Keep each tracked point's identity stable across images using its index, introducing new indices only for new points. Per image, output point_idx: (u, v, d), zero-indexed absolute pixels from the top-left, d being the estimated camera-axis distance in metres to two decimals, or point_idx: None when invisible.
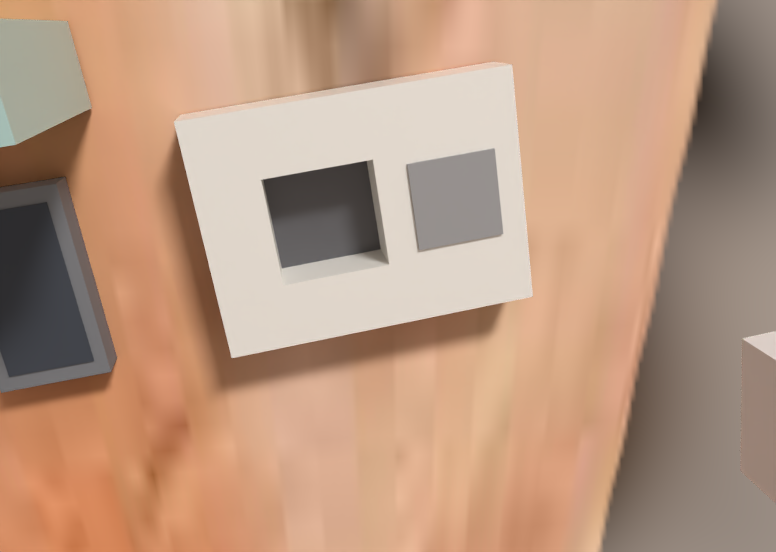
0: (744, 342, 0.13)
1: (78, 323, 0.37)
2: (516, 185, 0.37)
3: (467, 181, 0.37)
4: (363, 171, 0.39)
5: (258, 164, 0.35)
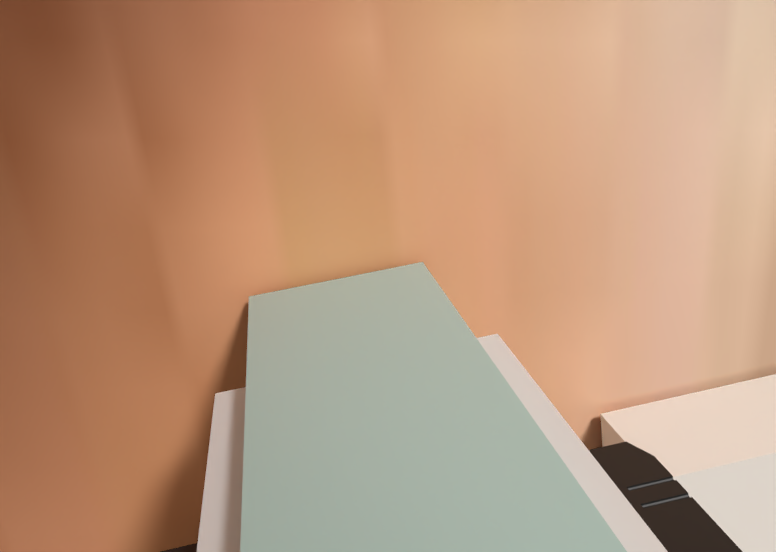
0: None
1: None
2: None
3: None
4: None
5: None
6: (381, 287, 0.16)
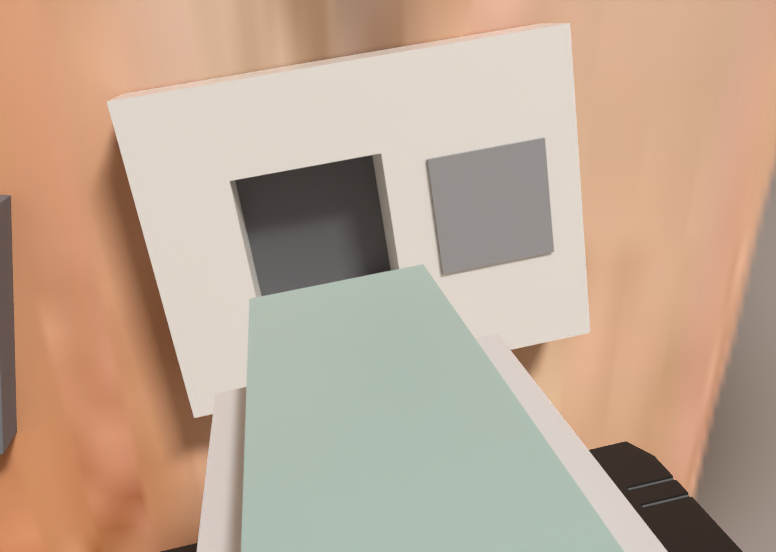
0: None
1: None
2: (572, 187, 0.28)
3: (507, 181, 0.28)
4: (367, 169, 0.29)
5: (225, 160, 0.26)
6: (382, 289, 0.16)
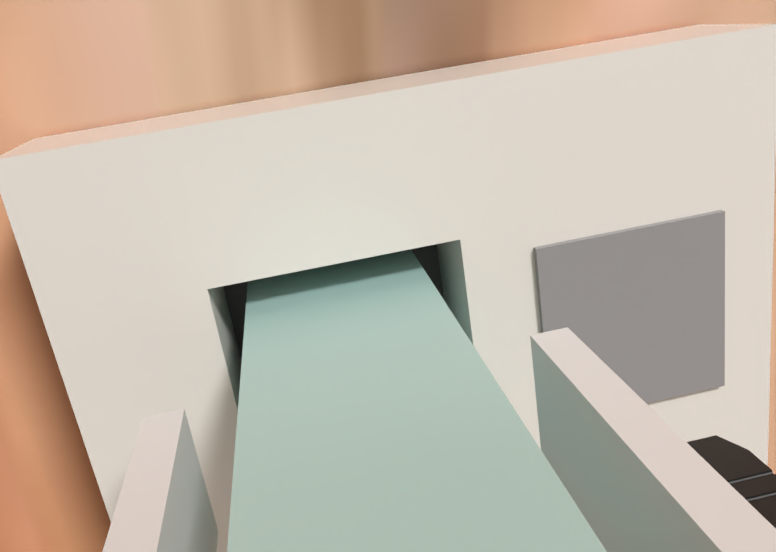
0: (531, 338, 0.14)
1: None
2: (759, 286, 0.17)
3: (660, 280, 0.17)
4: (427, 251, 0.19)
5: (200, 255, 0.15)
6: (368, 265, 0.17)
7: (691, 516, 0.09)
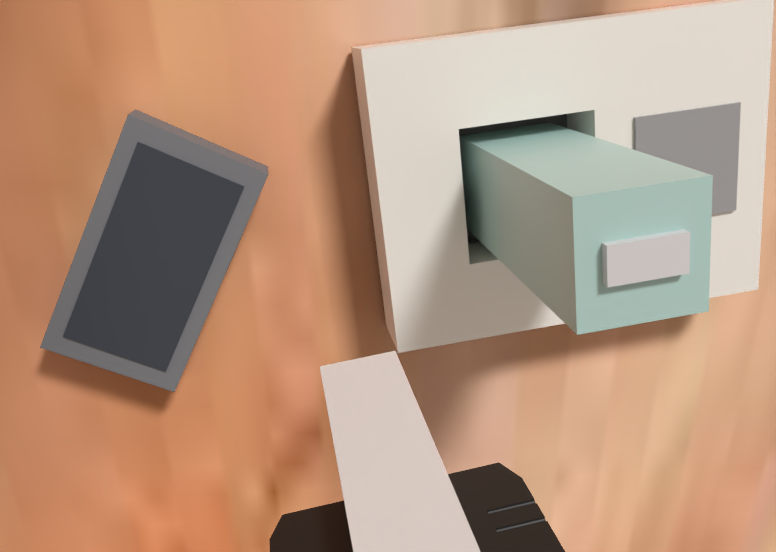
0: (358, 362, 0.14)
1: (180, 324, 0.30)
2: (758, 150, 0.30)
3: (702, 142, 0.30)
4: None
5: (457, 109, 0.28)
6: (533, 129, 0.30)
7: (417, 549, 0.09)
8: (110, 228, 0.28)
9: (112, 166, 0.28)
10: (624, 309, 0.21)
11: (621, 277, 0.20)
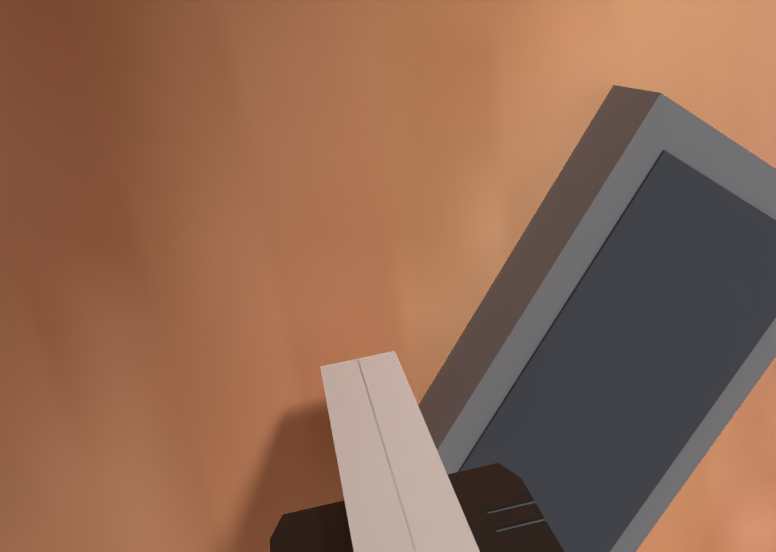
0: (357, 362, 0.14)
1: (637, 493, 0.16)
2: None
3: None
4: None
5: None
6: None
7: (417, 549, 0.09)
8: (570, 314, 0.14)
9: (603, 195, 0.14)
10: None
11: None
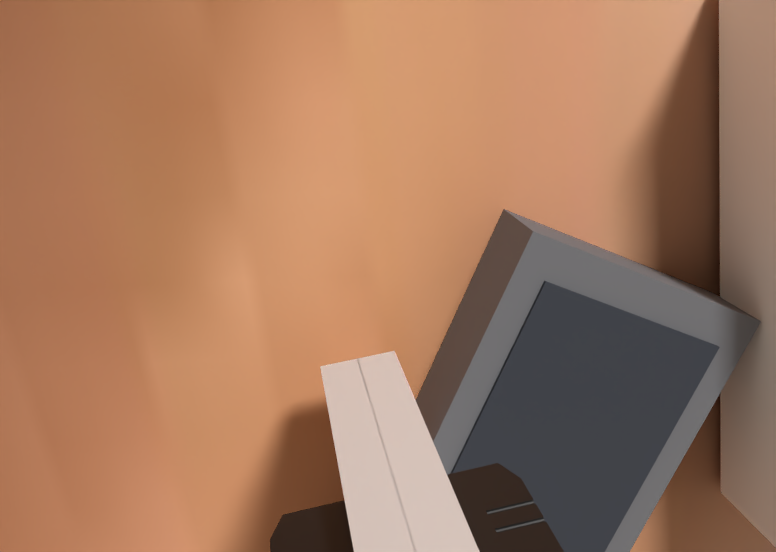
0: (357, 363, 0.14)
1: None
2: None
3: None
4: None
5: None
6: None
7: (416, 550, 0.09)
8: (478, 438, 0.15)
9: (492, 329, 0.14)
10: None
11: None
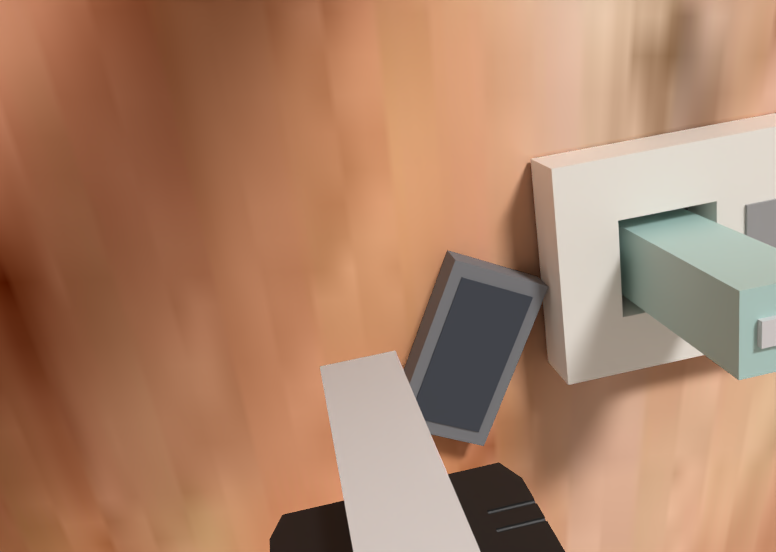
0: (358, 362, 0.14)
1: (488, 398, 0.42)
2: None
3: None
4: None
5: (618, 206, 0.38)
6: (666, 213, 0.40)
7: (417, 549, 0.09)
8: (443, 338, 0.40)
9: (444, 296, 0.39)
10: (770, 361, 0.31)
11: (771, 341, 0.30)
